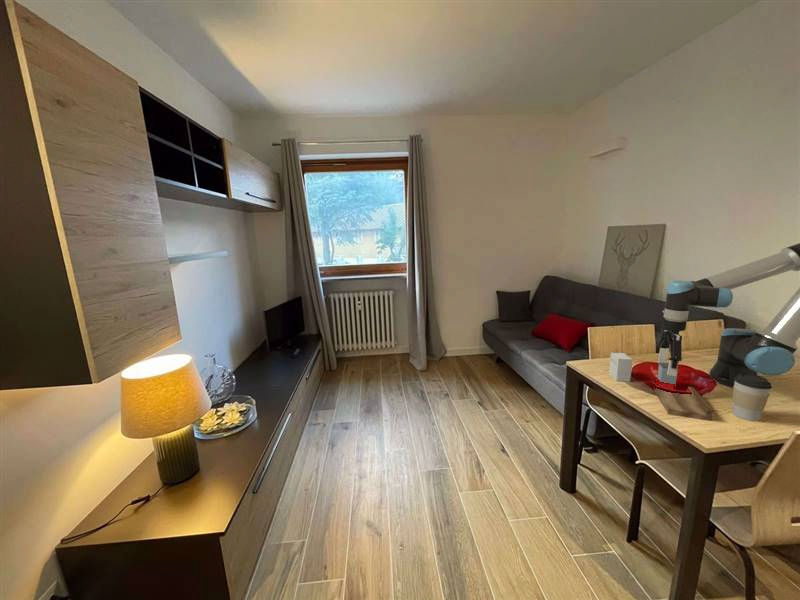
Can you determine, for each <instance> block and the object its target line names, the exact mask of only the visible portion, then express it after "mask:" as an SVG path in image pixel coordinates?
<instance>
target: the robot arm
mask: <svg viewBox="0 0 800 600" xmlns="http://www.w3.org/2000/svg"><path fill="white" fill-rule="evenodd" d="M790 271H794V272H798V271H800V243H797V244H793V245H790V246H787V247H784V248H782V249H781V250H780V252H778V253H774V254H772V255H770V256H767V257H766V256H765V257H763V258H761V259H757V260H754V261H752V262H749V263H746V264H743V265H740V266H737V267H733V268H730V269H729V270H725V271H722V272H720V273H717V274H716V273H715V274H714V275H710V276H708V277H704V278H702V279H699V280H696V281H694V280H687V281H686V280H672V281H670V282H669V283H668V285H667V290H666V297H665V304H664V310H662V313H663V318H662V322H661V327H662V328H663V331H662V333H661V337H660V339H659V342H658V345H659V354H658V357H657V359H658V360H657V363H658V364H659V362H662V363H667V362H668V363H669V366H668V372H667V375H671V376H676V374H677V375H678V371H677V368H678V369H679V362H682V360H683V359H682V353H683V352H682V350H683V349H682V345H683V344H682V341H683V335H680V332H684V331H686V329H687V323H688V318H689V312H690V307H703V308H704V307H705V308H706V307H707V308H708V307H709V308H715V309H716V308H728V307H729V306H731V304H732V303H733V298H734V294H733V292H732V289H737V288H738V287H739V288H740V287H742V286H746V285H748V284H752V283H755V282H756V283H757V282H759V281H761V280H764V279H769V278H770V277H773V276H774V277H775V276H778V275H781V274H783V273H786V272H790ZM799 339H800V287H799V288H798V289H797V290H796V291H795V292H794V294H793V295H791V297H790V298H789V300H788V301H787V302H786V303H785V304H784V306H783V307H782V308H781V309H780V311H779V312H778V313H777V314H776V315H775V317H773V319H772V320H771V322H769V323H768V324H767V326H766V327H765V328H764V329H762V330H755V329H747V328H739V327H738V328H737V327H736V328H735V327H733V328H732V327H729V328H728V327H726V328H724V329H723V330H722V332H721V335H720V343H719V349H718V354H717V360H716V362H714V364H713V366H712V367H711V369H710V370H709V375H710V376H711V377H712V378H713V379H715V380H716V381H717V382H716V381H715V382H716V383H718V384H721V385H724V386H728V387H731V388H734V383H735V381H734V378H735V377H736V376H738V375H739V374H740V373H742V374H743V373H747V374H754V375H758V376H759V374H760V375H763V376H771V377H772V376H780V375H782V374H785V373H787V372H789V371H791V370H792V368H793V367H794V366H795V364H796V363H795V362H796V360H795V356H794V353H795V352H796V351H797V350H798V347H797V343H796V342H797V341H798V340H799ZM669 353H670V357H669V358H668V355H669ZM668 360H669V361H668ZM709 375H708V376H709Z"/></svg>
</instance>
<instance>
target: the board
mask: <svg viewBox="0 0 800 600" xmlns="http://www.w3.org/2000/svg"><path fill="white" fill-rule="evenodd" d="M688 389H689V390H690V391H691V392H692V394H691V395H690V394H679V393H671V392H666V391H663V390H660V389H657V388H656V389H655V388H654V390H655V391H654V393H655V392H656V393H655V395H656V396H657V398H658V399H659V401H660V403H661V405H662V406H663V407H664V409H665V411H666V413H667V415H672V416H679V417H685V418H690V419H697V420H701V421H708V422H712V419H713V416H714V415H713V414H714V410H713V409H712V407H710V405H709V404H708V403H707V401H705V399H704V398H703V397H702V396H701V395H700V394H699V392H698V391H697V390H696V389H695V388H694V386H688V387H687V390H688Z"/></svg>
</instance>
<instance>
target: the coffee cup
mask: <svg viewBox="0 0 800 600" xmlns="http://www.w3.org/2000/svg"><path fill="white" fill-rule="evenodd" d="M734 381H735V383H734V387H732V388H733V390H732V391H733V392H732V415H733V416H735V417H736V418H738V419H741V420H744V421H747V420H748V421H747V422H754V421H757V422H760V421H759V420H761V418H762V416H763V412H764V410H765V408H766V405H767V403H768V399H769V397H770V391H771V389H772V388H773V387H772V383H771V382H770V381H769V380H768V379H767V378H766V377H763V376H761V375H759V374H758V375H754V374H747V373H743V374H742V373H740V374H739V375H738V376H736V377H735V378H734Z"/></svg>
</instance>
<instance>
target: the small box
mask: <svg viewBox="0 0 800 600" xmlns="http://www.w3.org/2000/svg"><path fill="white" fill-rule="evenodd" d="M632 365H633V358H631V357H630V356H629V355H627V353H624V352H610V360H609V370H608V374H609V375H610V377H612V378H613V379H614V380H615V382H631V375H632Z"/></svg>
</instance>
